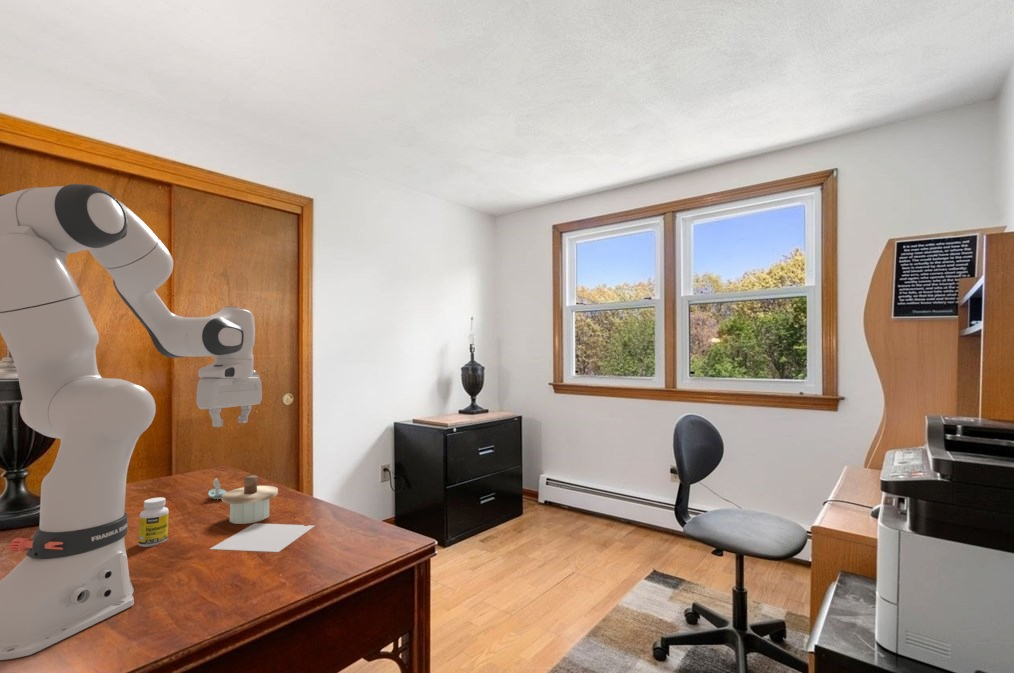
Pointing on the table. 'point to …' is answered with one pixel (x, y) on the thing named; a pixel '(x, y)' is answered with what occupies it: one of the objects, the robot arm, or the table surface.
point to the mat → (263, 537)
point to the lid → (249, 492)
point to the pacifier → (216, 490)
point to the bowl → (249, 512)
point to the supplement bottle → (153, 522)
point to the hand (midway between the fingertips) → (230, 424)
